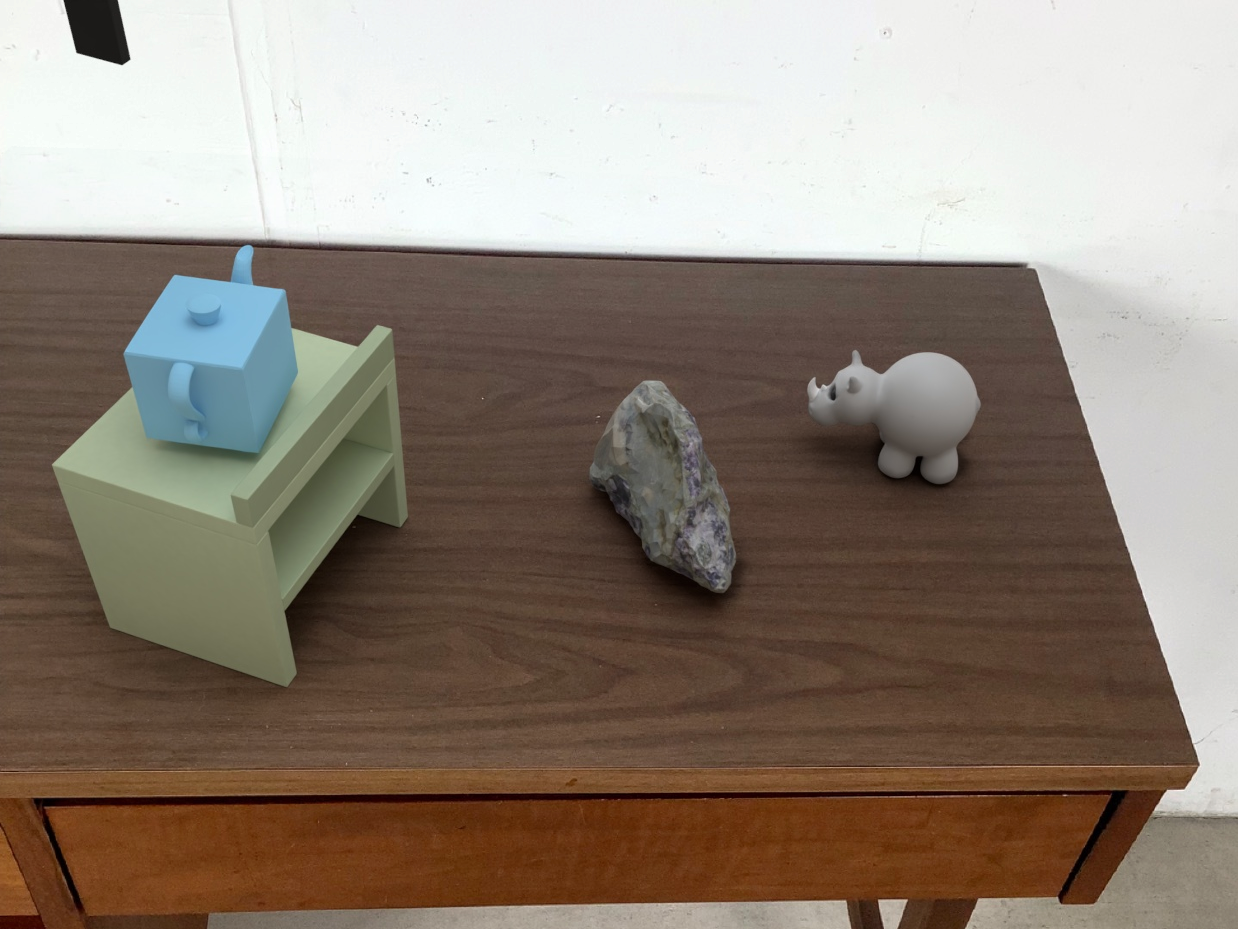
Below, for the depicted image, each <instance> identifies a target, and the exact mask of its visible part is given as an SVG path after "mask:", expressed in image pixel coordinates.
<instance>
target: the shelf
mask: <svg viewBox="0 0 1238 929" xmlns="http://www.w3.org/2000/svg"><path fill="white" fill-rule="evenodd" d="M291 329H292V336H293V342H294V348H295V355H296V361H297V368H298V374H297V376H296V378H295V380H294V382H293V384H292V387H291V389H290V391H289V393H288V395H287V397H286V399H285V401H284V404H283V405H282V407H281V409H280V411H279V413H278V415H277V417H276V419H275V421H274V423H273V425H272V427H271V429H270V431H269V433H268V436H267V438H266V440H265V442H264V445H263V446H262V448H261V450H260V452H259V453H254V452H243V451H239V450H232V449H225V448H217V447H210V446H202V445H195V444H188V443H176V442H173V441H166V440H159V439H152V438H147V437H146V434H145V430H144V427H143V423H142V420H141V416H140V412H139V409H138V405H137V402H136V398H135V394H134V391H133V387H132V386H131V387H130V389H128V390H127V392H126V393H125V394H123V395H122V396H121V397H120V398H119V399H118V400H117V401H116V402H115V403H114V404H113V405H112V406H111V407H110V408H109V409H108V410H107V411H106V412H105V413H104V414H103V415H101V416H100V417H99V418H98V419H97V420H96V422H94V423H93V424H92V425H91V426H90V427H89V428H88V429H87V430H86V431H85V432H84V433H83V434H82V435H81V436H80V437H79V438H77V439H76V441H75V442H74V443H72V444H71V445H70V446H69V447H68V448H67V449H66V450H65V451H64V452H63V453H62V454H61V455H60V456H59V457H58V458H57V459H56V460H55V461H54V462H53V463H52V464H51V466H52V469H53V472H54V475H55V478H56V481H57V484H58V486H59V490H60V492H61V495H62V497H63V501H64V504H65V506H66V509H67V512H68V514H69V517H70V520H71V523H72V526H73V528H74V532H75V534H76V536H77V537H76V538H77V540H78V542H79V545H80V548H81V551H82V553H83V556H84V559H85V562H86V564H87V567H88V570H89V573H90V576H91V579H92V580H93V582H92V583H93V584H94V587H95V590H96V593H97V595H98V598H99V601H100V604H101V607H102V609H103V612H104V614H105V618H106V621H107V623H108V626H109V628H110V629H113V630H115V631H119V632H122V633H124V634H127V635H131V636H133V637H136V638H139V639H142V640H145V641H149V642H152V643H153V644H157V645H160V646H163V647H166V648H169V649H172V650H175V651H177V652H181V653H184V654H187V655H188V656H189V655H190V656H193V657H196V658H198V659H202V660H204V661H207V662H210V663H212V664H213V663H214V664H216V665H218V666H221V667H224V668H228V669H231V670H235V671H237V672H240V673H243V674H246V675H249V676H251V677H254V678H258V679H260V680H264V681H267V682H269V683H273V684H276V685H279V686H281V687H284V688H288V687H289V685H290V684H291V683H292V681H293V680H294V679H295V677H296V676H297V674H298V673H297V672H298V671H297V667H296V661H295V657H294V652H293V647H292V641H291V638H290V632H289V628H288V627H289V626H288V622H287V617H286V613H285V612H286V610H287V609H288V607H289V606H290V605H291V603H292V602H293V601H294V599H295V598H296V597H297V595H298V594H299V593H300V592H301V591H302V589H303V587H305V585H306V584H307V582H308V581H309V579H310V578H311V577H312V576H313V574H315V571H317V568H318V567H319V566H320V565H321V564H322V562H323V561H324V560H325V558H326V557H327V556H328V555H329V553H330V551H331V550H332V549H333V548H334V546H335V545H336V543H338V541H339V539H340V538H342V536H343V534H344V533H345V531H346V530H347V529H348V528H349V527H350V525H351V523H353V521H354V519H355V518H356V517H357V516H361V517H364V518H368V519H370V520H374V521H377V522H380V523H384V524H387V525H390V526H394V527H396V528H402V526H403V525H404V523H405V522H406V521H407V519H408V518H409V513H408V512H409V511H408V501H407V488H406V477H405V468H404V466H405V464H404V454H403V442H402V431H401V430H402V429H401V418H400V407H399V405H400V404H399V397H398V394H399V392H398V381H397V374H396V373H397V372H396V370H397V369H396V359H395V346H394V335H393V334H394V333H393V329H392V328H390V327H386V326H382V325H379V324H377V325H376V326H374V328H373V329H372V330H371V332H369V334H368V335H367V336H366V337H365V338H364V340H362V342H361V343H360V344H359V345H358V346H356V345H353V344H349V343H346V342H342V341H339V340H334V339H331V338H327V337H324V336H321V335H318V334H314V333H311V332H308V331H303V330H300V329H297V328H292V327H291Z"/></svg>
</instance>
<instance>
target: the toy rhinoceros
mask: <svg viewBox="0 0 1238 929" xmlns="http://www.w3.org/2000/svg"><path fill="white" fill-rule="evenodd" d="M816 379H817V378H816V376H814V377H813V378H812V379H811V380H810V381H809V383H808V385H807V388H806V389H807V390H806V392H807V396H808V405H807V410H808V414H809V416H810V418H811V420H812V421H813V422H814V423H816V424H817V425H819V426H821V427H828V428H829V427H834V426H836V425H839V424H846V425H849V426H852V427H853V426H855V427H860V426H864V425H868V424H873V425H875V426H876V428H877V429H878V431H879V437H880V438H879V439H880V440H881V441H882V443H883V444H884V445H883V446H882V449H881V451H880V453H879V456H878V459H877V466H878V468H879V471H881V472H882V473H883V474H884V475H886V476H887V477H890V478H893V479H902V478H905V477H908V476H909V475H910V474H911V473H912V472H913V470H914V467H915V465H916V459H917V457H922V459H921V461H920V474H921V476H922V477H923V478H924V480H926V481H928V482H929V483H931V484H935V485H943V484H947V483H949V482H951V481H953V480H954V479H955V477H956V475H957V473H958V470H959V455H958V451H957V447H958V445H959V443H960V442H962V441H963V440H964V439H965V438H966V436H967V435H968V434H969V432H970V431H971V429H972V427H973V425H974V423H975V420H976V417H977V414H978V412H979V411H980V409H981V405H982V404H981V399H980V398H979V396H978V392H977V388H976V385H975V382H974V380H973V378H972V377H971V375H970V373H969V371H968V370H967V369H966V368H965V367H964V366H963V365H962V364H961V363H960V362H958V361H957V360H955V359H954V358H952V357H950V356H948V355H945V354H942V353H938V352H932V351H931V352H930V351H928V352H926V351H924V352H917V353H913V354H909V355H907V356H904V357H902V358H901V359H899V360H898V361H896V362H895V363H893V364H892V365H891V366H889V368H888V369H887V370H886V371H885V372H884V373H878V372H876V371H875V370H874V369H872V368H871V367H869V366H865V365H864V364H863V362H862V358H861V354H860V352H859V351H858V350H856V349H855V350H853V351H852V353H851V364H850V365H848V366H847V367H844V368H843V369H840V370H839V371H838V372H837V373H836V375H835V377H834V379H833V380H832V381H831V383H830V384H828V385H825V384H822V385H821V387H818V386H817V384H816Z"/></svg>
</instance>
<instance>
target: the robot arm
mask: <svg viewBox="0 0 1238 929" xmlns="http://www.w3.org/2000/svg"><path fill="white" fill-rule="evenodd" d="M63 4H64V9H65V12H66V17H67V21H68V25H69V29H70V33H71V37H72V41H73V46H74V49H75V53H76V54H77V55H81V56H85V57H89V58H92V59H96V60H100V61H105V62H109V63H112V64H115V65H118V66H119V65H120V66H124V65H125V64H127V63H128V62H129V61H131V60H132V59H131V54H130V50H129V44H128V40H127V36H126V31H125V26H124V22H123V17H122V13H121V12H122V11H121V7H120V2H119V0H63Z"/></svg>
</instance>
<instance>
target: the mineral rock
mask: <svg viewBox="0 0 1238 929" xmlns="http://www.w3.org/2000/svg"><path fill="white" fill-rule="evenodd" d="M717 476H718V472H717V470H716V468H715V467H714V466H713V464H712V463H711V462H710V459H709V457H708V454H707V453H706V452H705V448H704V445H703V437H702V435H701V434H700V431H699V427H698V425H697V422H696V418H695V417H694V416H693V415H692V414H691V412H690V410H689V409H688V408H686V407H685V406H684V405H683V404H682V403H680V402H679V401H678V400H677V399H676V398H675V396H674V395H673V393H672V392H671V390H669V388H668V387H667V385H666V384H665V383H664V382H663V381H661V380H642V381H641V382H640V383H639V384H638V385H637V386H636V387H635V388H634V389H633V390H632V392H630V393H629V394H628V395H627V396H625V398H624V399H623V400H622V401H621V403H620V404H619V405H618V406H617V408H616V409H615V410H614V412H613V413H612V414H611V417H610V419H609V421H608V422H607V425H606V427H605V429H604V432H603V434H602V436H601V438H600V439H599V441H598V442H597V445H596V446H595V448H594V452H593V462H592V464H591V465H590V467H589V482H590V484H591V486H593V488H595V489H596V490H600V491H601V492H604V493H607V495H608V496H609V500H610V501H611V502H612V504H613V506H614V509H615V512H616V513H617V514H619V515H620V516H621V517H622V518H624V519H625V520H626V521H627V522H628V523H629V525H630V526H631V528H632V529H633V532H634V534H636V535H637V536H638V537H639V538H640V539H641V544H642V546H641V547H642V549H643V551H644V553H645V555H646V557H647V558H648V559H649V560H650V561H651V562H653V563H655V564H657V565H660V566H662V567H665V568H667V569H670V570H672V571H673V572H676V573H678V574H681V575H683V576H684V577H687V578H688V579H690V580H692V581H694V582H696V583H698V585H699V586H701V587H704V588H706V589H708V590H709V591H711V592H714V593H718V594H724V593H725V592H726V591H728V588H730V586H731V584H732V578H733V577H732V571H733V570H734V567H735V565H736V562H737V552H736V548H735V543H734V541H733V538H732V537H733V536H732V533H731V532H732V531H731V524H730V512H731V507H730V505H729V501H728V497H727V496H726V493H725V491H724V488H723V487H722V486H721V485H720V484H719V483H720V482H719V480H718V477H717Z"/></svg>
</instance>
